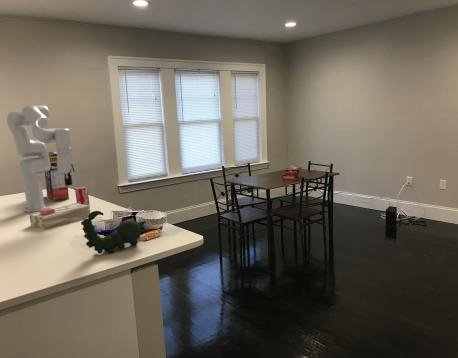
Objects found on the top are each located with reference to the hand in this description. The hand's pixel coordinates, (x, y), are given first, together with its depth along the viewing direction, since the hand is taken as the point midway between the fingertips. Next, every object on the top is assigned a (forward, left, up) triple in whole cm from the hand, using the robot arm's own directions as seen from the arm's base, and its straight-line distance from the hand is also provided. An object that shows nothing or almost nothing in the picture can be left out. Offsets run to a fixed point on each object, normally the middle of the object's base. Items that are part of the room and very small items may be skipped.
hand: (68, 185), depth 201 cm
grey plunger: (0, 0, -16) cm, 16 cm away
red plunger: (0, -14, -14) cm, 20 cm away
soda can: (-13, +15, -19) cm, 27 cm away
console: (0, -7, -18) cm, 20 cm away
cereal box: (-60, +26, -19) cm, 68 cm away
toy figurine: (+65, -21, -19) cm, 71 cm away
